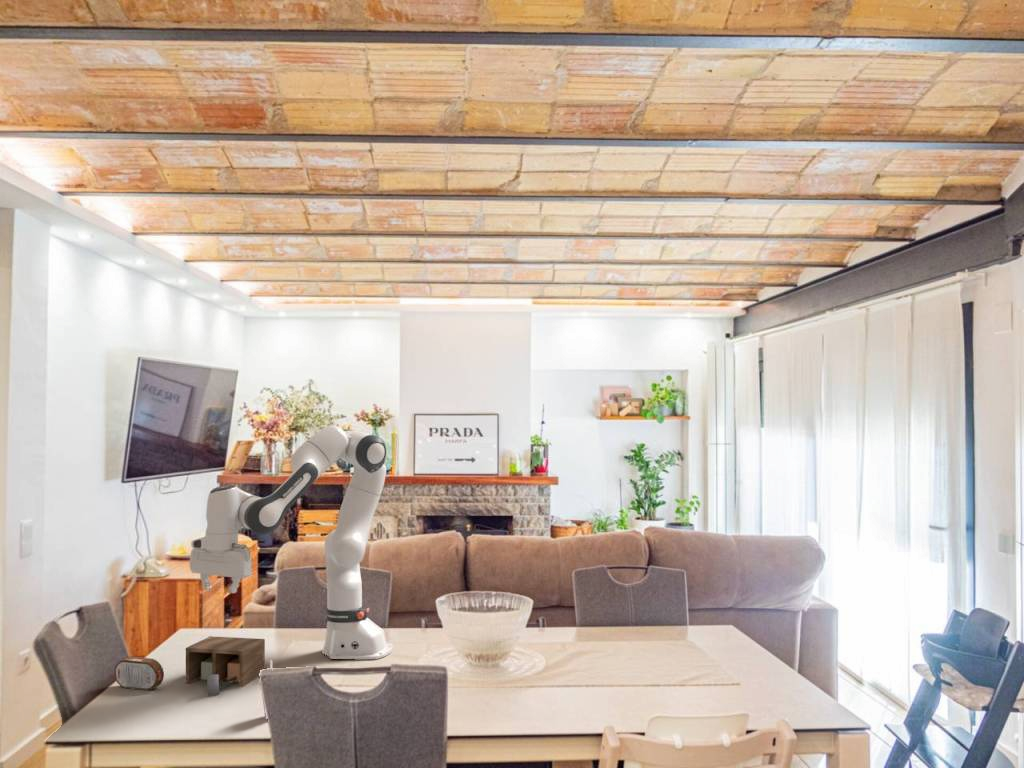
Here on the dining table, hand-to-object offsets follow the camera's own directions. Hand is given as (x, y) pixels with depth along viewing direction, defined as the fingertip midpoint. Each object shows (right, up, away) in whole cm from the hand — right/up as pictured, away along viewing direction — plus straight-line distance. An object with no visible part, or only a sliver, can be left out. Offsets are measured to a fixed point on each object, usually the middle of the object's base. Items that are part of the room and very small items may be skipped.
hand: (219, 591), depth 223 cm
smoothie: (+23, -26, -25) cm, 43 cm away
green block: (-4, -27, +7) cm, 28 cm away
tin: (-22, -27, -2) cm, 35 cm away
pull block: (+3, -27, -1) cm, 27 cm away
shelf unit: (0, -27, +5) cm, 27 cm away
